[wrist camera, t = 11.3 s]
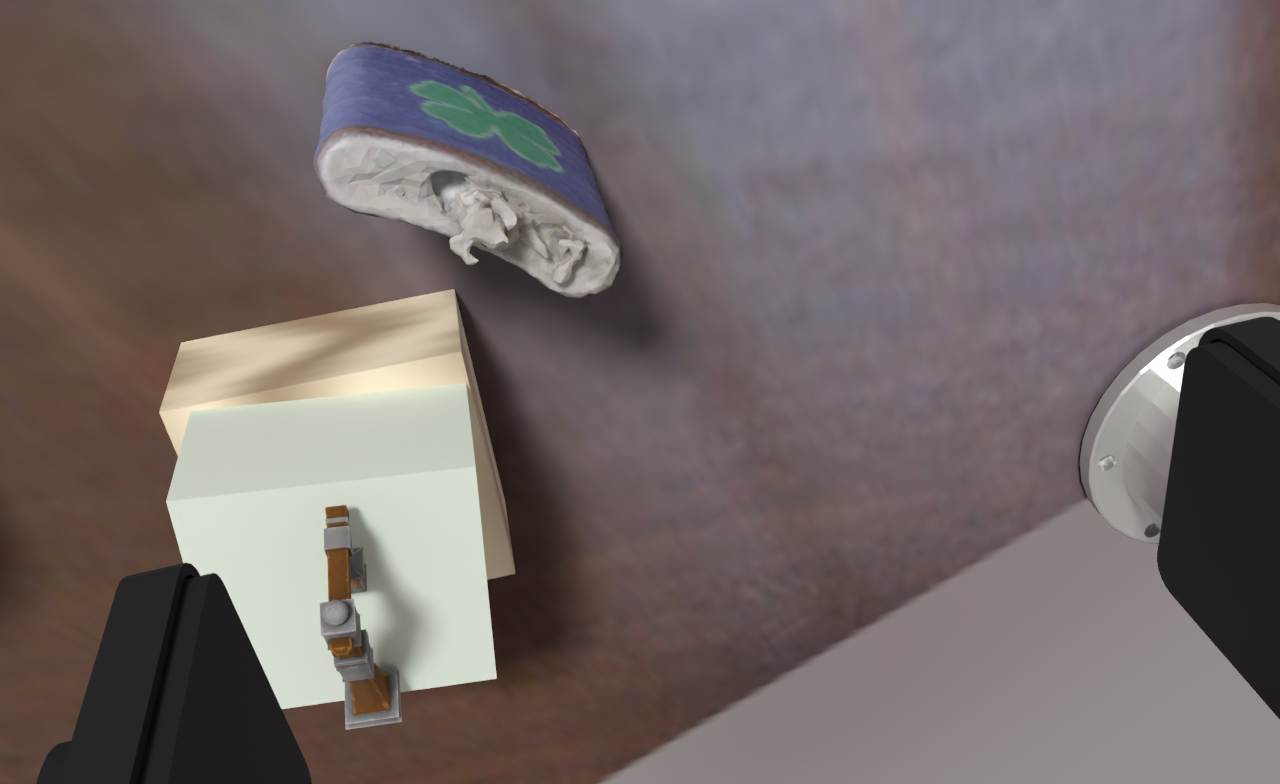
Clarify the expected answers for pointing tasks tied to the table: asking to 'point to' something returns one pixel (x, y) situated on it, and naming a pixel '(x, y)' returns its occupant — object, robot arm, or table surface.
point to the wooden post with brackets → (354, 631)
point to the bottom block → (346, 378)
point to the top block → (379, 522)
